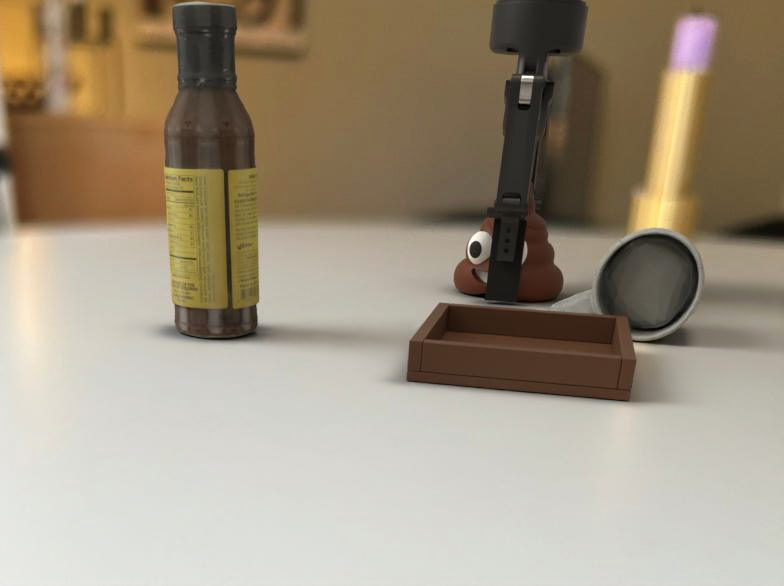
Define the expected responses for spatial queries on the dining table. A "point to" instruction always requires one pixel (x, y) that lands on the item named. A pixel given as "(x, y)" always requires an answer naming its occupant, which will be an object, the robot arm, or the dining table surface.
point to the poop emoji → (537, 263)
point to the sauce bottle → (210, 180)
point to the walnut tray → (524, 351)
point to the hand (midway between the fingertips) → (504, 291)
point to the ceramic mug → (645, 283)
